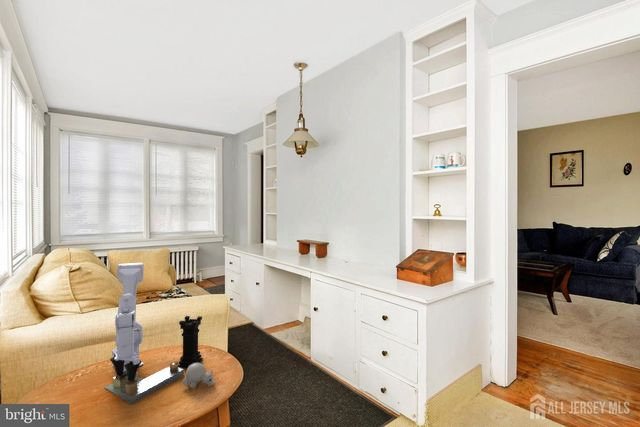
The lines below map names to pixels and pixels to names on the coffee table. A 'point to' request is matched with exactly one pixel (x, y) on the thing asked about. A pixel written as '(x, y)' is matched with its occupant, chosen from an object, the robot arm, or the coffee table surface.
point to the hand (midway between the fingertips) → (125, 377)
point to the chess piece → (190, 342)
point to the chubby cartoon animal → (198, 376)
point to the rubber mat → (117, 391)
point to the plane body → (150, 383)
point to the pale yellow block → (122, 380)
